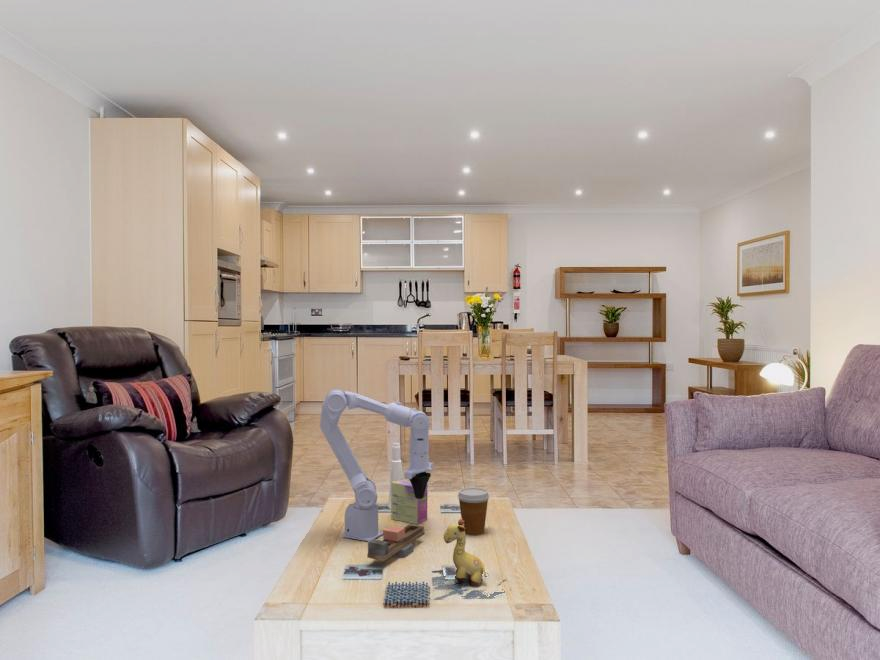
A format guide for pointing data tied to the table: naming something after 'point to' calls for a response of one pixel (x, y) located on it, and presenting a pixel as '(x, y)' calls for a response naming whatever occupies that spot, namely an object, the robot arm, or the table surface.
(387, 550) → the beam
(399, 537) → the block
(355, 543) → the table surface
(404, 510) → the box
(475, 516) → the disposable coffee cup
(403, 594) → the spiky bristle mat
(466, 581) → the stuffed giraffe
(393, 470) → the cosmetic bottle
